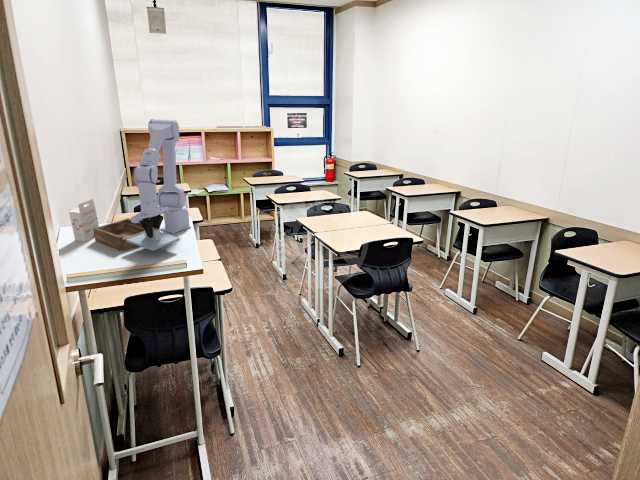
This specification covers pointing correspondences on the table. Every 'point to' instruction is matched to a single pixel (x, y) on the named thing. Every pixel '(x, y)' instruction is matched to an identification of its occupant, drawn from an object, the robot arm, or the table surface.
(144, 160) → the robot arm
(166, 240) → the cover plate
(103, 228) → the walnut box
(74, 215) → the ink cartridge box
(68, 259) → the table surface
